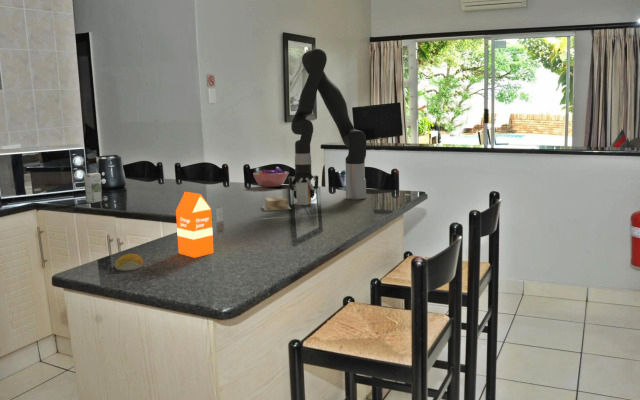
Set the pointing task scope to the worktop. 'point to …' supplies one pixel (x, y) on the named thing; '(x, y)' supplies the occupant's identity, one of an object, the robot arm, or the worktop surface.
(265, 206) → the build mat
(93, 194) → the syrup box
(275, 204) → the oak block
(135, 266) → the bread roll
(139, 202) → the worktop surface
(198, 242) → the orange juice
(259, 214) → the worktop surface
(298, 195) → the small box
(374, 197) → the worktop surface
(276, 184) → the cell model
